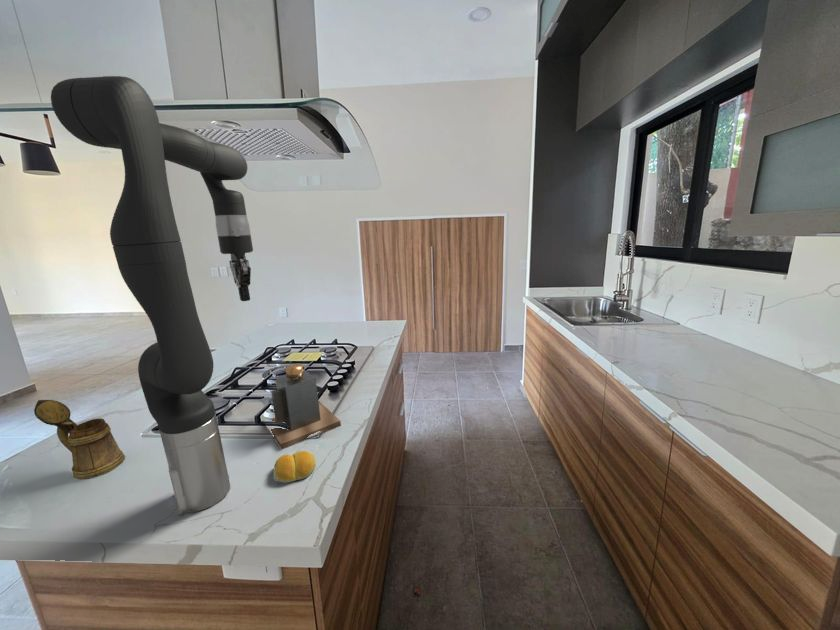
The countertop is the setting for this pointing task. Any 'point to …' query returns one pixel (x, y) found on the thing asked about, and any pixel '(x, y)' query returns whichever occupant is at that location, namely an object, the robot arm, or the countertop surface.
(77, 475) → the wooden mug
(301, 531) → the countertop surface
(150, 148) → the robot arm
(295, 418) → the block
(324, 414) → the serving board
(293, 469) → the bread roll
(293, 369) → the plunger
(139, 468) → the countertop surface
